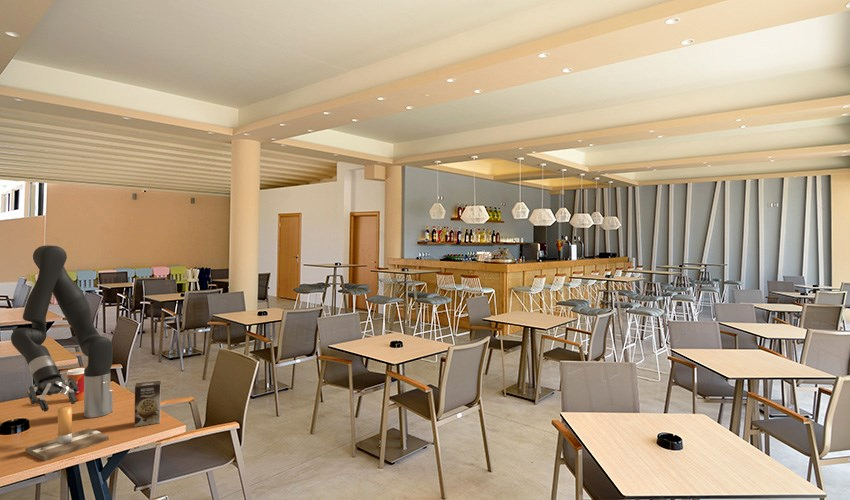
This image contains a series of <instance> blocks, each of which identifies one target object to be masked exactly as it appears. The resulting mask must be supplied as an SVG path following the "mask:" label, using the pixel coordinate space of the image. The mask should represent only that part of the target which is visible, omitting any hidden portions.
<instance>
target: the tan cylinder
mask: <svg viewBox="0 0 850 500" xmlns="http://www.w3.org/2000/svg"><path fill="white" fill-rule="evenodd" d="M72 433H73V407H72V406H64V407H60V408H58V409H57V438H58V444H66V443H69V442H71V441H72Z"/></svg>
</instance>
